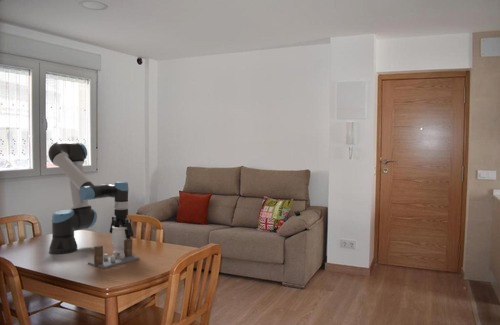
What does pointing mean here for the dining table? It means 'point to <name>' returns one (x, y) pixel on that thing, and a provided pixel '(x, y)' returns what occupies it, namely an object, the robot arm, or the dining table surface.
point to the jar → (118, 238)
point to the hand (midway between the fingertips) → (121, 246)
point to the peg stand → (114, 260)
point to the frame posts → (99, 252)
